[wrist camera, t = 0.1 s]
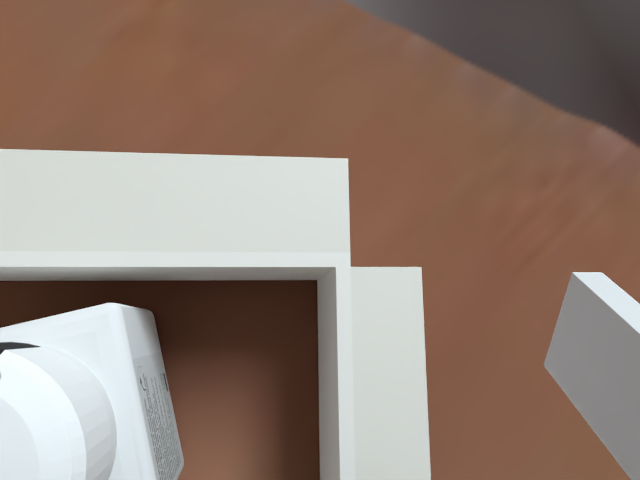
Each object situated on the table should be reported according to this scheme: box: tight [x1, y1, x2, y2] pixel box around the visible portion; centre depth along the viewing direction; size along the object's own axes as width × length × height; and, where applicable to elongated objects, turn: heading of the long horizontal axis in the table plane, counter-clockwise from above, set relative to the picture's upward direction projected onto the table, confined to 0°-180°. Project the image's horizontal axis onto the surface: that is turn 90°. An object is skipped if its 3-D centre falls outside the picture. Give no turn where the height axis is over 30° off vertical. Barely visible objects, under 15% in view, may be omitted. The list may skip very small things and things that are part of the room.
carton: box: [0, 149, 431, 480], centre depth 23 cm, size 21×29×6 cm
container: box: [0, 303, 184, 480], centre depth 19 cm, size 8×8×13 cm
